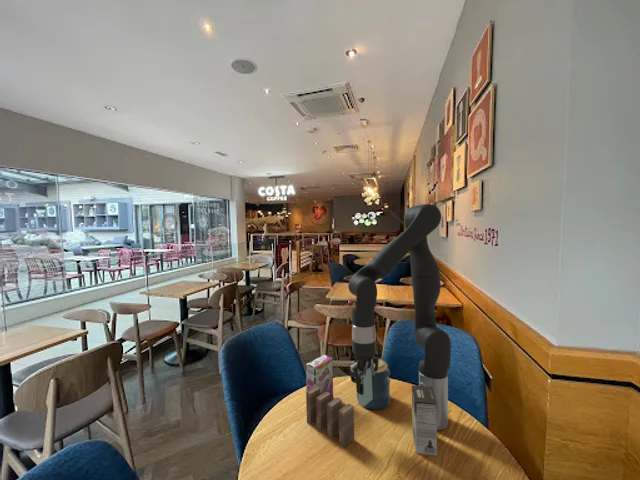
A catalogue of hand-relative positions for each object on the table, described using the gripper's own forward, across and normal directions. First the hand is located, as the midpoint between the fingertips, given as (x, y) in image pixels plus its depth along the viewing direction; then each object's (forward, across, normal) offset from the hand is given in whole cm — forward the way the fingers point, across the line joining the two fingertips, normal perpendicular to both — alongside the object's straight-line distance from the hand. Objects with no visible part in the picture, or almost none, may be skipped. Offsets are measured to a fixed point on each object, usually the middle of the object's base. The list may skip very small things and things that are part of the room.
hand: (365, 389), depth 89 cm
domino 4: (+15, -6, +3) cm, 17 cm away
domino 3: (+15, -6, +8) cm, 19 cm away
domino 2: (+15, -6, +13) cm, 21 cm away
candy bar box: (+16, +3, +24) cm, 29 cm away
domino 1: (+15, -6, +18) cm, 25 cm away
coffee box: (+16, +10, -15) cm, 24 cm away
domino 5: (+4, 0, 0) cm, 4 cm away
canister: (+16, +18, +9) cm, 26 cm away
